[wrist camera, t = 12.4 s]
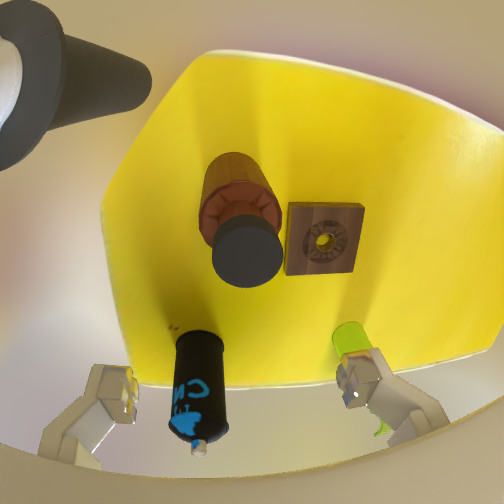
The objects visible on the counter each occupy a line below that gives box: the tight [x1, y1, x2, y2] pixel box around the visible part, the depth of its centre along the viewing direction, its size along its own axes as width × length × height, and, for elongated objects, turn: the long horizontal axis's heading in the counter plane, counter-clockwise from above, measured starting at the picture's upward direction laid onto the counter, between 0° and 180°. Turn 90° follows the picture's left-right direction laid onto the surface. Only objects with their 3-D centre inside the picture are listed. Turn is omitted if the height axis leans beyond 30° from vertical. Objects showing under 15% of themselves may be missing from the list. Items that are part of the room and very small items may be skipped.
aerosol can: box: [168, 330, 229, 457], centre depth 40 cm, size 8×8×20 cm
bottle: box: [199, 152, 282, 248], centre depth 29 cm, size 7×7×17 cm
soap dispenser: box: [332, 322, 391, 437], centre depth 43 cm, size 6×7×20 cm
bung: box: [212, 214, 283, 288], centre depth 21 cm, size 5×5×4 cm
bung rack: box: [284, 202, 365, 276], centre depth 40 cm, size 10×10×2 cm
